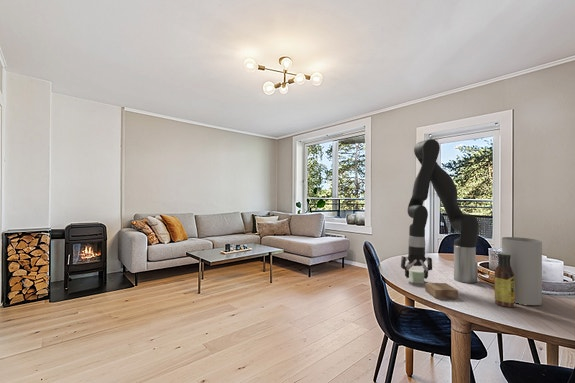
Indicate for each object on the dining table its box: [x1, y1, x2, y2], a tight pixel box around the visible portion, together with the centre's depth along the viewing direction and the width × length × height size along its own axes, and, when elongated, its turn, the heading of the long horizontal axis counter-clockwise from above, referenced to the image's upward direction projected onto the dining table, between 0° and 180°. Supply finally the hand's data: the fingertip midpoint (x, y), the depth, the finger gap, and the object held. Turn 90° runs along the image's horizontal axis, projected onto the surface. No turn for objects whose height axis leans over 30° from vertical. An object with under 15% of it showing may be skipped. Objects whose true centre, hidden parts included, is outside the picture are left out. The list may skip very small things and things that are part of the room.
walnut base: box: [424, 282, 459, 300], centre depth 120 cm, size 9×9×4 cm
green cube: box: [409, 269, 425, 284], centre depth 138 cm, size 5×5×5 cm
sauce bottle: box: [494, 252, 515, 308], centre depth 110 cm, size 7×6×20 cm
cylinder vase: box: [501, 236, 543, 306], centre depth 114 cm, size 12×12×25 cm
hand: (416, 278), depth 138 cm, fingers open, 8 cm apart
